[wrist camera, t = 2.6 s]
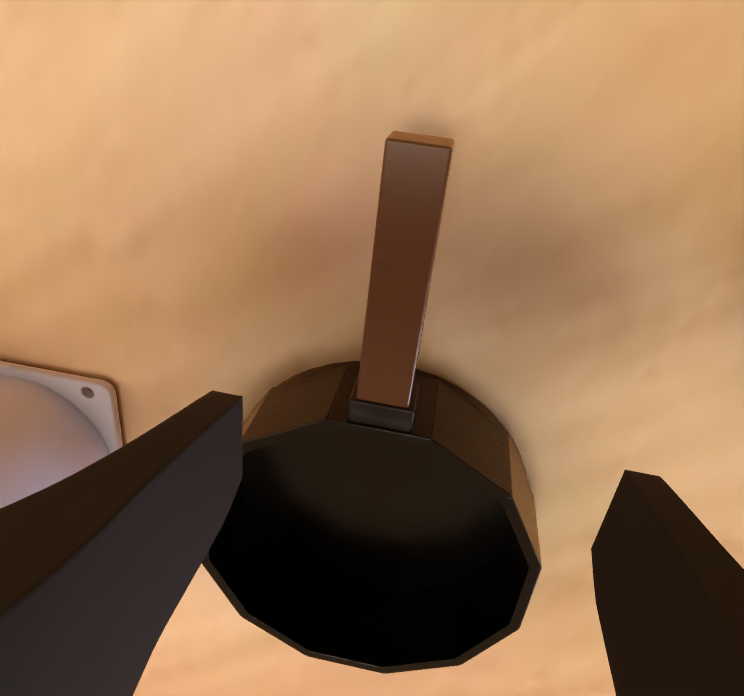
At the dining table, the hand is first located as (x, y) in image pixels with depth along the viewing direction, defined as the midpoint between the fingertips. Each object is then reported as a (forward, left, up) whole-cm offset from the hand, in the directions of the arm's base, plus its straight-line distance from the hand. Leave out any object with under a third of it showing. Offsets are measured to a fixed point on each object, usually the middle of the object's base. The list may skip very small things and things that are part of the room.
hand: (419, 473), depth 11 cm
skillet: (-1, -5, -10) cm, 11 cm away
